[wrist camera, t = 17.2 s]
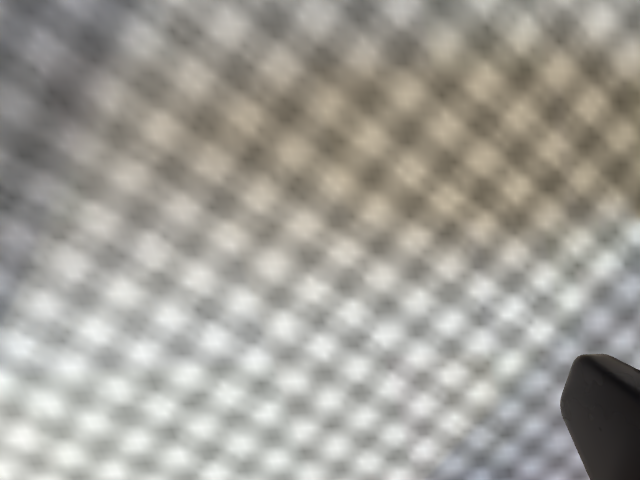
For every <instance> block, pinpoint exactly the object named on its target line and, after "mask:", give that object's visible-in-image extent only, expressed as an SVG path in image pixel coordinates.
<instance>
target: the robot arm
mask: <svg viewBox="0 0 640 480" xmlns="http://www.w3.org/2000/svg"><path fill="white" fill-rule="evenodd" d="M560 407H561V413H562V416H563V419H564V421H565V423H566V425H567V428H568V430H569V432H570V435H571V437H572V439H573V441H574V444H575V446H576V448H577V450H578V453H579V455H580V457H581V460H582V462H583V464H584V466H585V469H586V471H587V473H588V475H589V478H590V480H640V370H638V369H636V368H634V367H632V366H630V365H628V364H626V363H624V362H622V361H620V360H618V359H616V358H614V357H612V356H609V355H606V354H586V355H581V356H578V357H577V358H576V359H575V360H574V362H573V364H572V367H571V370H570V373H569V376H568V379H567V381H566V384H565V387H564V390H563V393H562V396H561V401H560Z"/></svg>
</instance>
